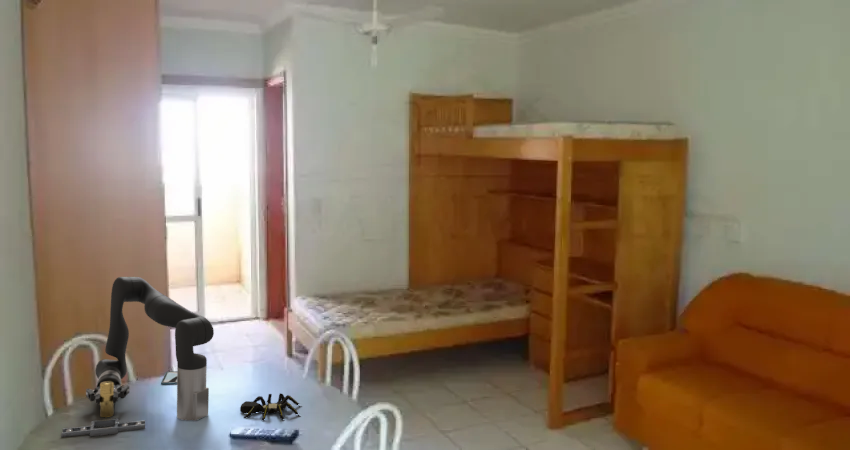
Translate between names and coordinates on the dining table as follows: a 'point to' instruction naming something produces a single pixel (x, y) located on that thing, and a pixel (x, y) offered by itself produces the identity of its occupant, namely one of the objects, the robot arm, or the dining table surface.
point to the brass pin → (106, 399)
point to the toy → (268, 406)
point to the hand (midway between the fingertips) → (106, 400)
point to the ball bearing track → (103, 431)
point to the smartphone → (169, 378)
